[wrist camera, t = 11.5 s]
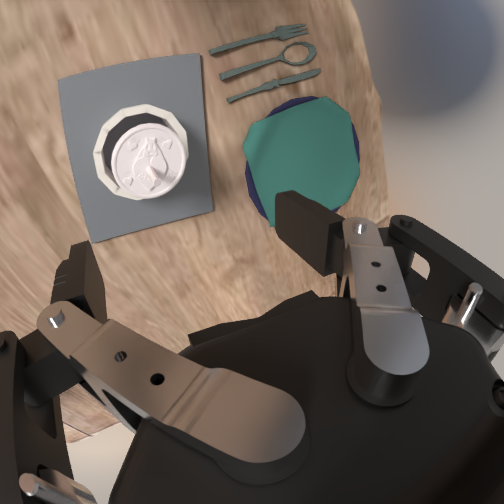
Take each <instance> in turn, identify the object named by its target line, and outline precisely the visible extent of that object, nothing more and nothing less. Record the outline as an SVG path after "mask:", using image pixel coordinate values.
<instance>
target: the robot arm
mask: <svg viewBox="0 0 504 504" xmlns="http://www.w3.org/2000/svg"><path fill="white" fill-rule="evenodd" d="M275 229H276V233H277V235H278V237H279V238H280V239H281V240H282V241H283V242H284V243H285V244H287V245H288V246H289V247H290V248H291V249H292V250H293V251H295V252H296V253H297V254H298V255H299V256H300V257H301V258H303V259H304V260H305V261H306V262H307V263H308V264H309V265H310V266H312V267H313V268H314V269H315V270H316V271H317V272H318V273H319V274H321V275H322V276H323V277H325V276H327V275H330V274H332V273H336V276H335V297H320V298H319V297H318V296H317V295H316V294H315V293H314V292H313V291H312V290H311V291H308V292H305V293H303V294H300V295H298V296H295V297H293V298H290V299H287V300H285V301H283V302H282V303H280V304H279V305H277V306H276V307H274V308H273V309H271V310H270V311H268V312H266V313H265V314H263V315H262V316H260V317H258V318H254V319H248V320H241V321H235V322H228V323H221V324H218V325H215V326H212V327H209V328H206V329H203V330H200V331H197V332H194V333H191V334H188V337H189V341H190V344H191V345H190V346H188V347H187V348H185V349H184V350H182V351H181V352H180V353H178V354H176V353H174V352H172V351H170V350H168V349H166V348H164V347H162V346H160V345H158V344H157V343H155V342H153V341H151V340H149V339H147V338H145V337H143V336H142V335H140V334H138V333H136V332H134V331H133V330H131V329H129V328H127V327H126V326H124V325H122V324H120V323H119V322H117V321H115V320H113V319H108V320H107V312H106V299H105V287H104V282H103V278H102V275H101V272H100V270H99V267H98V264H97V261H96V258H95V256H94V253H93V250H92V247H91V244H90V242H89V241H88V240H87V241H84V242H81V243H78V244H74V245H71V249H70V255H69V259H67V260H64V261H62V263H61V264H60V265H59V267H58V268H57V270H56V275H55V280H54V286H53V291H52V297H51V303H50V305H49V306H47V307H46V308H45V309H44V310H43V311H42V312H41V313H40V315H39V316H38V319H37V328H38V329H36V330H35V331H33V332H32V333H30V334H28V335H27V336H25V337H23V338H21V339H20V340H19V339H18V337H17V336H16V334H15V333H14V332H12V331H3V332H1V333H0V504H97V502H96V500H95V498H94V496H93V495H92V493H91V492H90V491H89V490H88V489H87V488H86V487H85V486H83V485H81V484H79V483H78V482H76V481H74V478H73V474H72V469H71V465H70V460H69V456H68V451H67V446H66V440H65V434H64V428H63V421H62V414H61V406H60V397H59V394H61V393H62V392H64V391H66V390H68V389H69V388H71V387H73V386H74V385H76V384H77V385H78V386H79V387H81V388H82V389H83V390H84V391H85V392H86V393H87V394H88V395H90V396H91V397H92V398H93V399H94V400H95V401H97V402H98V403H99V404H100V405H101V406H103V407H104V408H105V409H106V410H107V411H109V412H110V413H111V414H112V415H113V416H115V417H116V418H117V419H118V420H119V421H120V422H121V423H122V424H123V425H124V426H126V427H127V428H128V429H129V430H131V431H132V432H133V433H135V436H134V439H133V441H132V443H131V446H130V448H129V451H128V453H127V455H126V458H125V460H124V462H123V465H122V467H121V469H120V472H119V474H118V477H117V479H116V482H115V484H114V486H113V489H112V491H111V494H110V498H109V503H108V504H504V381H503V380H502V379H501V378H500V376H499V375H498V374H497V372H496V371H495V369H494V367H493V366H492V364H491V361H492V360H493V358H494V357H495V356H496V354H497V352H498V351H499V350H500V348H501V347H502V345H503V344H504V279H503V278H502V277H500V276H499V275H498V274H496V273H495V272H494V271H492V270H491V269H490V268H488V267H487V266H486V265H484V264H483V263H482V262H480V261H479V260H477V259H476V258H474V257H473V256H472V255H470V254H469V253H467V252H466V251H464V250H463V249H461V248H460V247H459V246H457V245H455V244H454V243H452V242H451V241H449V240H448V239H446V238H445V237H443V236H442V235H440V234H439V233H437V232H436V231H434V230H432V229H430V228H429V227H427V226H426V225H424V224H423V223H421V222H419V221H418V220H416V219H414V218H412V217H409V216H406V215H395V216H392V217H391V219H390V224H389V227H385V228H377V225H376V224H375V223H374V222H372V221H370V220H368V219H365V218H360V217H351V218H347V219H345V218H343V217H342V216H340V215H338V214H337V213H335V212H333V211H332V210H329V209H328V208H327V207H325V206H323V205H322V204H320V203H318V202H316V201H314V200H311V199H308V198H307V197H305V196H303V195H301V194H300V193H298V192H296V191H294V190H289V191H284V192H279V193H277V194H276V195H275ZM415 252H416V253H417V254H419V255H420V256H421V257H423V258H424V259H425V260H427V262H428V263H429V266H430V273H429V276H428V278H427V280H426V279H425V278H423V277H422V276H421V275H420V274H418V273H417V272H416V271H415V270H413V269H412V268H411V265H412V261H413V258H414V254H415ZM412 307H413V308H414V309H413V308H412ZM420 314H421V315H422V316H423V317H424V318H423V317H421V316H420Z"/></svg>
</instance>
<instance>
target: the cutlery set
mask: <svg viewBox="0 0 504 504" xmlns="http://www.w3.org/2000/svg"><path fill="white" fill-rule="evenodd" d="M305 25H306V24H300V25H289V26H279V27H275V31H273V32H270V33H268V34H264V35H260V36H256V37H252V38H248V39H244V40H241V41H237V42H234V43H230V44H227V45H223V46H220V47H217V48H215V49H210V50H209V53H210V55H212V54H213V53H217V52H220V51H223V50H227V49H230V48H233V47H237V46H240V45H244V44H248V43H252V42H256V41H259V40H264V39H268V38H276V37H277V38H278V39H279V40H284V39H288V38H291V37H294V36H298V35H302V34H306V33H309V32H299V33H293V32H297V31H301V30H305V29H307V28H299V29H292V28H297V27H301V26H305ZM289 29H290V30H289ZM289 33H290V34H289ZM293 44H294V45H303V46H305V47H307V48H308V50H309V55H308V56H307V58H306V59H305V60H303V61H301V62H299V63H291V62H289V61H287V60H285V57H284V55H283V53H284V52H285V50H286V48H288V47H289V46H291V45H293ZM293 44H290V45H288V46H286V48H285V49H284V51H283V52H282V53H281V55H280V56H279V57H276V58H272V59H268V60H265V61H261V62H257V63H254V64H250V65H247V66H243V67H240V68H237V69H234V70H231V71H227V72H225V73H220V74H219V76H220V79H221V80H224V79H225V78H229V77H231V76H234V75H236V74H239V73H242V72H244V71H247V70H250V69H253V68H256V67H259V66H261V65H264V64H267V63H270V62H274V61H277V60H282V61H285V62H287V63H289V64H292V65H297V64H304V63H306V62H308V61H310V60H312V58H313V57H314V55H315V54H316V50H315V46H313V45H311V44H309V43H307V42H295V43H293ZM320 70H321V69H315V70H312V71H308V72H304V73H301V74H297V75H294V76H291V77H287V78H284V79H281V80H278V81H277V79H273V81H272V82H266V83H264V84H263V85H262V86H260V87H257V88H254V89H252V90H249V91H247V92H245V93H242V94H239V95H236V96H234V97H231V98H226V99H227V102H228V103H230V102H231V101H233V100H236V99H238V98H240V97H243V96H245V95H248V94H252V93H255V92H258V91H261V90H268V89H272V88H273V87H279V84H286V83H291V82H295V81H299V80H302V79H306V78H309V77H312V76H315V75H317V74H318V73H319V72H320ZM243 150H244V153H245V156H246V158H247V162H246V171H245V175H246V181H247V186H248V191H249V196H250V197H251V199H252V201H253V203H254V204H255V206H256V208H257V210H258V211H259V213H260V214H261V215H262V216H263V217H265V218H266V219H267V220H268V221H269V224H270V227H275V195H276V194H277V193H279V192H284V191H289V190H294V191H296V192H298V193H300V194H301V195H303V196H305V197H307V198H308V199H311V200H314V201H316V202H318V203H320V204H322V205H323V206H325V207H327V208H328V209H329V210H332V211H333V212H336V211H337V210H338V209H339V208H340V206H341V205H343V204H345V203H346V202H348V200H349V198H350V196H351V194H352V192H353V189H354V187H355V185H356V183H357V180H358V178H359V175H360V167H359V161H360V157H359V141H358V138H357V135H356V132H355V128H354V125H353V124H352V122H351V118H350V115H349V113H348V112H347V111H346V110H344V109H343V108H341V107H340V106H339V105H337V104H336V103H335V102H333V101H331V100H330V99H329V98H328V97H326V96H325V97H322V98H317V97H313V96H309V97H302V98H296V99H291V100H289V101H287V102H286V103H284V104H282V105H281V106H279V107H277V108H275V109H274V110H272V111H271V113H270V114H269V115H268V116H267V117H266V118H265V119H263V120H260V121H258V122H256V123H254V124H252V125H251V127H250V128H249V131H248V135H247V137H246V139H245V141H244V143H243Z"/></svg>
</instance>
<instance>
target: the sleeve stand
mask: <svg viewBox="0 0 504 504" xmlns="http://www.w3.org/2000/svg"><path fill="white" fill-rule="evenodd" d="M58 88H59V97H60V106H61V113H62V120H63V126H64V132H65V138H66V143H67V149H68V154H69V159H70V163H71V168H72V172H73V177H74V181H75V185H76V189H77V193H78V197H79V201H80V204H81V208H82V212H83V215H84V219H85V222H86V225H87V229H88V232H89V235H90V238H91V241H92V244H93V243H96V242H99V241H103V240H106V239H110V238H113V237H117V236H120V235H124V234H127V233H131V232H134V231H138V230H142V229H145V228H149V227H153V226H156V225H160V224H164V223H168V222H172V221H175V220H179V219H183V218H187V217H191V216H195V215H199V214H203V213H207V212H211V211H213V204H212V194H211V185H210V175H209V164H208V154H207V143H206V131H205V120H204V107H203V94H202V80H201V65H200V53H195V54H184V55H174V56H166V57H158V58H151V59H144V60H138V61H133V62H127V63H122V64H117V65H112V66H108V67H103V68H99V69H95V70H91V71H87V72H83V73H80V74H76V75H73V76H69V77H66V78H63V79H60V80H58ZM147 123H154V124H160V125H163V126H165V127H168V128H169V129H171V130H172V131H173V132H174V133H176V135H177V136H178V137H179V138H180V140H181V141H182V143H183V145H184V148H185V152H186V166H185V170H184V173H183V175H182V177H181V179H180V180H179V182H178V183H177V184H176V185H175V187H173V188H172V189H171V190H170V191H169V192H167V193H165V194H163V195H161V196H159V197H155V198H150V199H142V198H137V197H134V196H131V195H129V194H128V193H126V192H125V191H124V190H123V189H122V188H121V187H120V186H119V185H118V183H117V182H116V180H115V178H114V175H113V173H112V166H111V160H112V153H113V150H114V148H115V145H116V143H117V142H118V141H119V139H120V138H121V137H122V135H123V134H125V133H126V132H127V131H128V130H130V129H131V128H134V127H136V126H138V125H141V124H147Z"/></svg>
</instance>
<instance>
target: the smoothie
mask: <svg viewBox="0 0 504 504" xmlns="http://www.w3.org/2000/svg"><path fill="white" fill-rule="evenodd" d="M111 166H112V173H113V175H114V178H115V180H116V182H117V183H118V185H119V186H120V187H121V188H122V189H123V190H124V191H125V192H126V193H128V194H129V195H131V196H134V197H137V198H142V199H150V198H155V197H159V196H161V195H163V194H165V193H167V192H169V191H170V190H171V189H172V188H173V187H175V185H176V184H177V183H178V182H179V180H180V179H181V177H182V175H183V173H184V170H185V166H186V152H185V148H184V145H183V143H182V141H181V140H180V138H179V137H178V136H177V135H176V133H174V132H173V131H172V130H171V129H169V128H168V127H165V126H163V125H160V124H154V123H147V124H141V125H138V126H136V127H134V128H131V129H130V130H128V131H127V132H126V133H125V134H123V135H122V137H121V138H120V139H119V141H118V142H117V143H116V145H115V148H114V150H113V153H112V160H111Z"/></svg>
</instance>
